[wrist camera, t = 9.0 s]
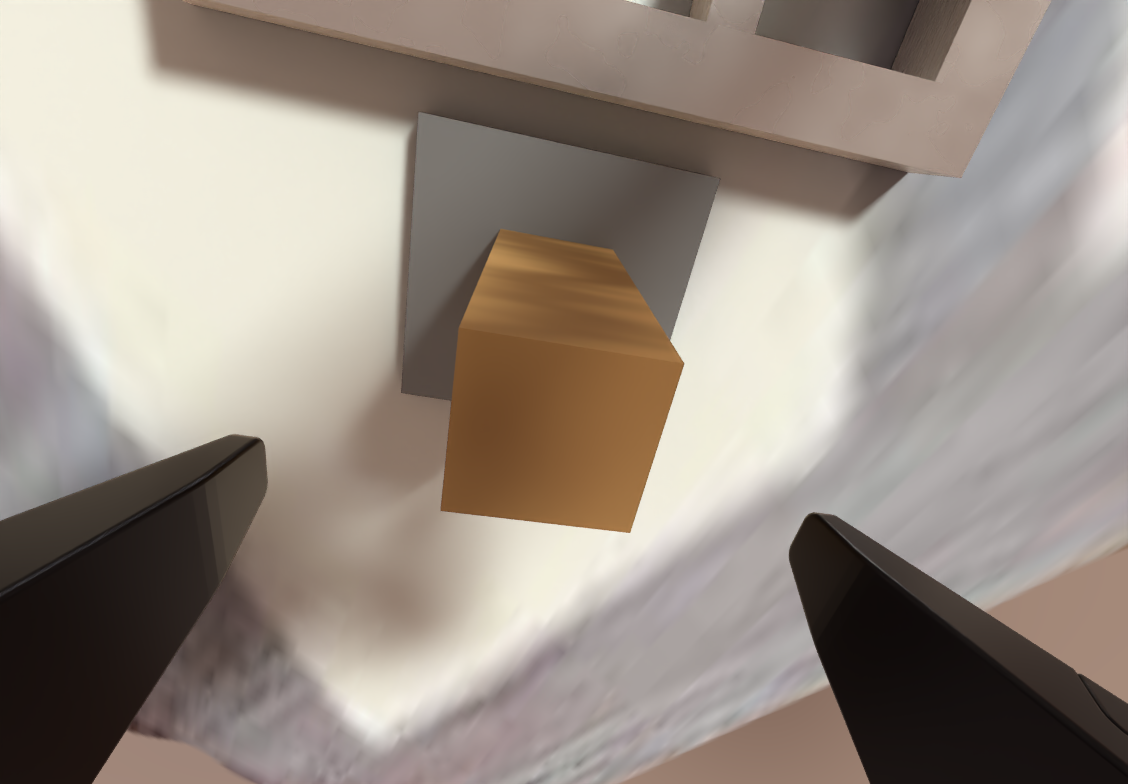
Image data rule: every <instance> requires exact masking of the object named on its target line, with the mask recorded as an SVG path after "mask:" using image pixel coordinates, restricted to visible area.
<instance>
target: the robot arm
mask: <svg viewBox="0 0 1128 784" xmlns="http://www.w3.org/2000/svg"><path fill="white" fill-rule="evenodd" d="M267 483H268V480H267V467H266V454H265V445H264V442H263V441H262V440H261V439H260V438H258V437H252V436H244V435H237V434H232V435H228V436H226V437H223V438H220V439H218V440H215V441H212V442H210V443H207V444H204V445H202V446H199V447H196V448H193V449H191V450H188V451H185V452H183V453H180V454H177V455H175V456H172V457H169V458H167V459H164V460H161V461H159V462H156V463H153V464H151V465H148V466H145V467H143V468H140V469H137V470H135V471H132V472H129V473H127V474H124V475H121V476H119V477H116V478H113V479H111V480H108V481H105V482H103V483H100V484H97V485H95V486H92V487H89V488H87V489H84V490H81V491H79V492H76V493H73V494H71V495H68V496H65V497H63V498H60V499H57V500H55V501H52V502H49V503H47V504H44V505H41V506H39V507H36V508H33V509H31V510H28V511H25V512H22V513H20V514H17V515H14V516H12V517H9V518H6V519H4V520H1V521H0V784H92V783H93V781H94V780H95V778H96V776H97V775H98V773H99V772H100V770H101V769H102V767H103V766H104V764H105V763H106V761H107V760H108V758H109V756H110V755H111V753H112V752H113V750H114V749H115V747H116V746H117V744H118V743H119V741H120V739H121V738H122V736H123V735H124V733H125V732H126V730H127V729H128V727H129V726H130V724H131V722H132V721H133V719H134V718H135V716H136V715H137V713H138V712H139V710H140V709H141V707H142V705H143V704H144V702H145V701H146V699H147V698H148V696H149V695H150V693H151V692H152V690H153V688H154V687H155V685H156V684H157V682H158V681H159V679H160V678H161V676H162V675H163V673H164V671H165V670H166V668H167V667H168V665H169V664H170V662H171V661H172V659H173V658H174V656H175V654H176V653H177V651H178V650H179V648H180V647H181V645H182V644H183V642H184V641H185V639H186V637H187V636H188V634H189V633H190V631H191V630H192V628H193V627H194V625H195V624H196V622H197V620H198V619H199V617H200V616H201V614H202V613H203V611H204V610H205V608H206V606H207V605H208V603H209V602H210V600H211V599H212V597H213V595H214V594H215V592H216V590H217V589H218V587H219V586H220V584H221V582H222V580H223V578H224V576H225V574H226V572H227V571H228V569H229V567H230V565H231V563H232V561H233V559H234V557H235V555H236V553H237V551H238V549H239V547H240V545H241V543H242V541H243V539H244V537H245V535H246V533H247V531H248V529H249V527H250V525H251V523H252V521H253V519H254V517H255V515H256V513H257V511H258V509H259V507H260V505H261V503H262V501H263V499H264V496H265V493H266V490H267ZM789 561H790V565H791V568H792V572H793V575H794V579H795V582H796V585H797V589H798V592H799V595H800V599H801V602H802V605H803V609H804V612H805V616H806V619H807V622H808V626H809V629H810V632H811V635H812V638H813V641H814V645H815V647H816V650H817V653H818V655H819V658H820V660H821V663H822V665H823V668H824V670H825V673H826V675H827V678H828V680H829V683H830V685H831V688H832V690H833V693H834V695H835V698H836V700H837V703H838V705H839V707H840V710H841V713H842V715H843V718H844V720H845V723H846V725H847V727H848V730H849V733H850V735H851V737H852V740H853V742H854V745H855V747H856V750H857V752H858V755H859V757H860V759H861V762H862V765H863V767H864V770H865V772H866V775H867V777H868V780H869V782H870V784H1128V704H1127V703H1126V702H1124V701H1122V700H1121V699H1120V698H1118V697H1117V696H1115V695H1113V694H1112V693H1110V692H1109V691H1107V690H1106V689H1104V688H1102V687H1101V686H1099V685H1098V684H1096V683H1094V682H1093V681H1091V680H1090V679H1088V678H1087V677H1085V676H1084V675H1082V674H1077V673H1076V672H1075V670H1074V669H1073V668H1071V667H1070V666H1068V665H1067V664H1065V663H1063V662H1062V661H1060V660H1058V659H1057V658H1056V657H1054V656H1053V655H1051V654H1049V653H1048V652H1046V651H1045V650H1043V649H1042V648H1040V647H1039V646H1037V645H1036V644H1034V643H1032V642H1031V641H1029V640H1028V639H1026V638H1025V637H1023V636H1022V635H1020V634H1018V633H1017V632H1015V631H1014V630H1012V629H1011V628H1009V627H1007V626H1006V625H1004V624H1003V623H1001V622H1000V621H998V620H997V619H995V618H994V617H992V616H991V615H989V614H987V613H986V612H984V611H983V610H981V609H980V608H978V607H977V606H975V605H973V604H972V603H970V602H969V601H967V600H966V599H964V598H963V597H961V596H960V595H958V594H956V593H955V592H953V591H952V590H950V589H949V588H947V587H946V586H944V585H942V584H941V583H939V582H938V581H936V580H935V579H933V578H932V577H930V576H928V575H927V574H925V573H924V572H922V571H921V570H919V569H918V568H916V567H915V566H913V565H911V564H910V563H908V562H907V561H905V560H904V559H902V558H901V557H899V556H897V555H896V554H894V553H893V552H891V551H890V550H888V549H887V548H885V547H883V546H882V545H880V544H879V543H877V542H876V541H874V540H873V539H871V538H870V537H868V536H866V535H865V534H863V533H862V532H860V531H859V530H857V529H856V528H854V527H852V526H851V525H849V524H848V523H846V522H845V521H843V520H842V519H840V518H838V517H837V516H834V515H831V514H824V513H816V512H813V513H810V514H808V515H807V516H806V517H805V519H804V521H803V523H802V524H801V526H800V528H799V530H798V532H797V534H796V536H795V538H794V540H793V542H792V544H791V546H790V549H789Z"/></svg>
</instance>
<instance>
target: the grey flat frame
mask: <svg viewBox="0 0 1128 784" xmlns="http://www.w3.org/2000/svg"><path fill="white" fill-rule="evenodd" d="M181 1H184V2H187V3H189V4H193V5H197V6H201V7H205V8H210V9H214V10H218V11H222V12H227V13H231V14H235V15H239V16H244V17H248V18H252V19H257V20H261V21H265V22H269V23H274V24H278V25H282V26H286V27H291V28H295V29H299V30H303V31H308V32H312V33H316V34H320V35H325V36H329V37H333V38H338V39H342V40H346V41H350V42H355V43H359V44H363V45H367V46H372V47H376V48H380V49H384V50H389V51H393V52H397V53H401V54H406V55H410V56H414V57H419V58H423V59H427V60H431V61H436V62H440V63H444V64H448V65H453V66H457V67H461V68H465V69H470V70H474V71H478V72H482V73H487V74H491V75H495V76H500V77H504V78H508V79H512V80H517V81H521V82H525V83H529V84H534V85H538V86H542V87H546V88H551V89H555V90H559V91H563V92H568V93H572V94H576V95H581V96H585V97H589V98H593V99H598V100H602V101H606V102H610V103H615V104H619V105H623V106H627V107H632V108H636V109H640V110H644V111H649V112H653V113H657V114H662V115H666V116H670V117H674V118H679V119H683V120H687V121H691V122H696V123H700V124H704V125H708V126H713V127H717V128H721V129H725V130H730V131H734V132H738V133H743V134H747V135H751V136H755V137H760V138H764V139H768V140H772V141H777V142H781V143H785V144H789V145H794V146H798V147H802V148H806V149H811V150H815V151H819V152H824V153H828V154H832V155H836V156H841V157H845V158H849V159H853V160H858V161H862V162H866V163H870V164H875V165H879V166H883V167H887V168H892V169H896V170H900V171H905V172H909V173H918V174H927V175H937V176H946V177H956V178H961V177H962V175H963V173H964V171H965V169H966V167H967V165H968V163H969V161H970V159H971V157H972V155H973V153H974V151H975V149H976V148H977V146H978V144H979V142H980V140H981V138H982V136H983V134H984V132H985V130H986V128H987V126H988V124H989V122H990V120H991V118H992V116H993V114H994V112H995V110H996V108H997V106H998V104H999V102H1000V100H1001V98H1002V96H1003V94H1004V92H1005V90H1006V88H1007V86H1008V85H1009V83H1010V81H1011V79H1012V77H1013V75H1014V73H1015V71H1016V69H1017V67H1018V65H1019V63H1020V61H1021V59H1022V57H1023V55H1024V53H1025V51H1026V49H1027V47H1028V45H1029V43H1030V41H1031V39H1032V37H1033V35H1034V33H1035V31H1036V29H1037V27H1038V25H1039V24H1040V22H1041V20H1042V18H1043V16H1044V14H1045V12H1046V10H1047V8H1048V6H1049V4H1050V2H1051V0H919V3H918V5H917V8H916V10H915V12H914V15H913V17H912V20H911V22H910V24H909V27H908V29H907V32H906V34H905V37H904V39H903V41H902V44H901V46H900V49H899V51H898V53H897V56H896V58H895V61H894V63H893V65H892V68H891V70H889V69H885V68H881V67H878V66H874V65H870V64H866V63H862V62H858V61H855V60H851V59H847V58H843V57H839V56H836V55H832V54H828V53H824V52H820V51H816V50H813V49H809V48H805V47H801V46H797V45H794V44H790V43H786V42H782V41H778V40H774V39H771V38H767V37H763V36H759V35H755V32H756V28H757V25H758V22H759V19H760V15H761V12H762V9H763V5H764V2H765V0H693V2H692V6H691V10H690V14H689V17H686V16H683V15H679V14H675V13H671V12H667V11H664V10H660V9H656V8H652V7H648V6H644V5H641V4H637V3H633V2H629V1H625V0H181Z"/></svg>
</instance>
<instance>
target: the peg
mask: <svg viewBox="0 0 1128 784" xmlns="http://www.w3.org/2000/svg"><path fill="white" fill-rule="evenodd" d="M683 366H684V362H683V361H682V359H681V358H680V356H679V354H678V353H677V351H676V350H675V348H674V346H673V345H672V343H671V342H670V340H669V338H668V337H667V335H666V334H665V332H664V330H663V329H662V327H661V326H660V324H659V322H658V321H657V319H656V318H655V316H654V314H653V313H652V311H651V310H650V308H649V306H648V305H647V303H646V302H645V300H644V298H643V297H642V295H641V294H640V292H639V290H638V289H637V287H636V286H635V284H634V282H633V281H632V279H631V278H630V276H629V274H628V273H627V271H626V270H625V268H624V266H623V265H622V263H621V262H620V260H619V258H618V257H617V255H616V254H615V252H614V250H612V249H607V248H602V247H596V246H591V245H586V244H580V243H575V242H569V241H564V240H559V239H553V238H548V237H542V236H537V235H532V234H526V233H521V232H516V231H510V230H505V229H500V231H499V234H498V236H497V238H496V241H495V243H494V245H493V248H492V250H491V253H490V255H489V257H488V260H487V262H486V264H485V267H484V269H483V271H482V274H481V276H480V279H479V281H478V283H477V286H476V288H475V290H474V293H473V295H472V298H471V300H470V302H469V305H468V307H467V309H466V312H465V314H464V316H463V319H462V321H461V324H460V326H459V331H458V341H457V351H456V361H455V371H454V381H453V391H452V401H451V411H450V421H449V431H448V441H447V451H446V461H445V471H444V481H443V491H442V501H441V511H447V512H455V513H464V514H472V515H481V516H489V517H498V518H507V519H515V520H524V521H532V522H541V523H549V524H558V525H566V526H575V527H584V528H592V529H601V530H609V531H618V532H626V533H630V531H631V528H632V525H633V522H634V519H635V516H636V513H637V510H638V507H639V503H640V500H641V497H642V494H643V491H644V488H645V485H646V482H647V478H648V475H649V472H650V469H651V466H652V463H653V460H654V457H655V453H656V450H657V447H658V444H659V441H660V438H661V435H662V432H663V429H664V425H665V422H666V419H667V416H668V413H669V410H670V407H671V404H672V400H673V397H674V394H675V391H676V388H677V385H678V382H679V379H680V376H681V372H682V369H683Z"/></svg>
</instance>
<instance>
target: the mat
mask: <svg viewBox="0 0 1128 784" xmlns="http://www.w3.org/2000/svg"><path fill="white" fill-rule="evenodd" d="M719 181H720V178H716V177H712V176H708V175H703V174H699V173H694V172H689V171H685V170H680V169H676V168H671V167H667V166H662V165H658V164H653V163H649V162H644V161H640V160H635V159H631V158H626V157H622V156H617V155H613V154H608V153H604V152H599V151H595V150H590V149H586V148H581V147H577V146H572V145H568V144H563V143H559V142H554V141H549V140H545V139H540V138H536V137H531V136H527V135H522V134H518V133H513V132H509V131H504V130H500V129H495V128H491V127H486V126H482V125H477V124H473V123H468V122H464V121H459V120H455V119H450V118H446V117H441V116H437V115H432V114H428V113H423V112H418V127H417V143H416V160H415V176H414V192H413V209H412V225H411V241H410V258H409V274H408V290H407V306H406V323H405V339H404V355H403V372H402V388H401V393H405V394H412V395H419V396H425V397H432V398H438V399H445V400H451V401H452V391H453V381H454V371H455V361H456V351H457V341H458V331H459V326H460V324H461V321H462V319H463V316H464V314H465V312H466V309H467V307H468V305H469V302H470V300H471V298H472V295H473V293H474V290H475V288H476V286H477V283H478V281H479V279H480V276H481V274H482V271H483V269H484V267H485V264H486V262H487V260H488V257H489V255H490V253H491V250H492V248H493V245H494V243H495V241H496V238H497V236H498V234H499V231H500V229H505V230H510V231H516V232H521V233H526V234H532V235H537V236H542V237H548V238H553V239H559V240H564V241H569V242H575V243H580V244H586V245H591V246H596V247H602V248H607V249H612V250H614V252H615V254H616V255H617V257H618V258H619V260H620V262H621V263H622V265H623V266H624V268H625V270H626V271H627V273H628V274H629V276H630V278H631V279H632V281H633V282H634V284H635V286H636V287H637V289H638V290H639V292H640V294H641V295H642V297H643V298H644V300H645V302H646V303H647V305H648V306H649V308H650V310H651V311H652V313H653V314H654V316H655V318H656V319H657V321H658V322H659V324H660V326H661V327H662V329H663V330H664V332H665V334H666V335H667V337H668V338H669V340H670V339H671V336H672V332H673V329H674V326H675V323H676V319H677V316H678V313H679V310H680V307H681V303H682V300H683V297H684V294H685V291H686V287H687V284H688V281H689V278H690V275H691V271H692V268H693V265H694V262H695V258H696V255H697V252H698V249H699V246H700V242H701V239H702V236H703V233H704V230H705V226H706V223H707V220H708V217H709V214H710V210H711V207H712V204H713V201H714V198H715V194H716V191H717V188H718V185H719Z"/></svg>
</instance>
